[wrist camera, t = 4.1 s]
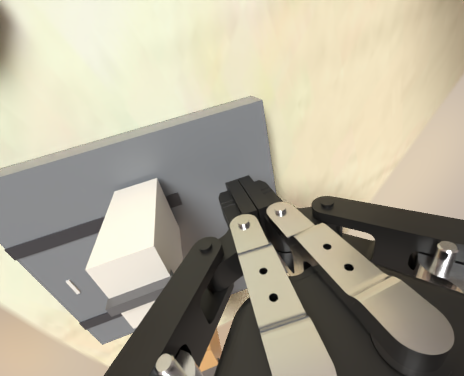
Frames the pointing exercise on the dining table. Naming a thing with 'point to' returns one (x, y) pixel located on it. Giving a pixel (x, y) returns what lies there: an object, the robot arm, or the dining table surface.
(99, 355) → the dining table surface
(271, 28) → the dining table surface
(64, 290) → the console
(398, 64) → the dining table surface
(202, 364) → the orange fader
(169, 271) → the cream fader
